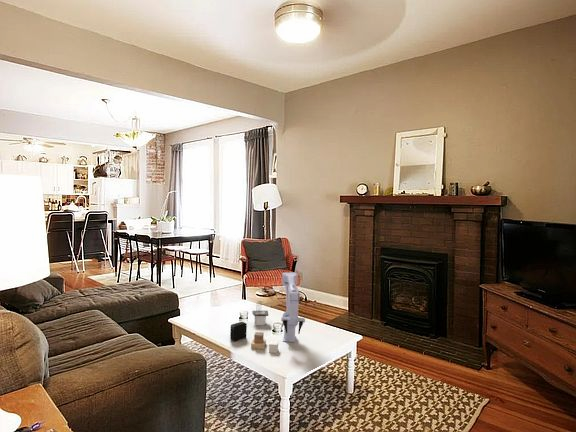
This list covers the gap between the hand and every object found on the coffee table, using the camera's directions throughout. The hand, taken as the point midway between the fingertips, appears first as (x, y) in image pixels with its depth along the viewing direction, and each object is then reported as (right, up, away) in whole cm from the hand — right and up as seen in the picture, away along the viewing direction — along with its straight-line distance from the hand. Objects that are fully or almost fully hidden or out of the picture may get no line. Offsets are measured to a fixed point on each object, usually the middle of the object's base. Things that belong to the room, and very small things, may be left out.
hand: (292, 332), depth 224 cm
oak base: (-21, -9, +3) cm, 23 cm away
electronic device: (-35, -8, +13) cm, 38 cm away
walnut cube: (-21, -6, +2) cm, 22 cm away
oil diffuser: (-24, -8, +43) cm, 49 cm away
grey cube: (-12, -10, -3) cm, 16 cm away
